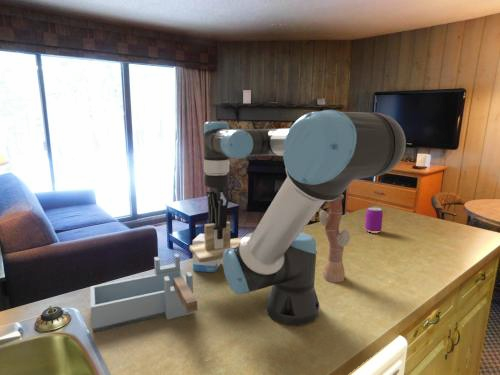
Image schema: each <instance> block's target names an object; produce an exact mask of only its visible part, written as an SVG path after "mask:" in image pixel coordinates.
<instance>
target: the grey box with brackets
mask: <svg viewBox="0 0 500 375" xmlns="http://www.w3.org/2000/svg"><path fill="white" fill-rule="evenodd" d="M180 258H181V256H180V255H179V253H174V254H173V263H172V264H166V265H160V264H161V261H160V258H159V256H154V257H153V261H154V274H150V275H145V276H140V277H134V278H128V279H124V280H123V279H122V280H118V281H113V282H107V283H102V284H97V285H92V286H90V313H91V314H90V315H91V325H92V333H96V332H100V331H105V330H106V331H107V330H109V329H113V328H117V327H121V326H126V325H130V324H134V323H138V322H143V321H147V320H151V319H155V318H160V317H163V316H165V318H166V320H167V321H168V320H172V319H176V318H180V317H184V316H189V315H193V314H194V312H195V311H192V312H188V313H187V311H186V310H185V308H184V306H183V304H182V302H181V300H180V298H179V296H178V294H177V292H176V290H175V288H174V283H173V278H177V277H183V278H184V280H185V282H186V283H187V285H188V287H189V288H190V290H191V292H192V293H193V294H194V285H193V284H194V278H193V274H192V272H191V271H188V272H185V274H184V272H183V271H182V269H181V262H180V260H181V259H180Z"/></svg>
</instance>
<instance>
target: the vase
mask: <svg viewBox="0 0 500 375" xmlns="http://www.w3.org/2000/svg"><path fill="white" fill-rule="evenodd" d="M342 199H345V196H344V194H341V195H340V197H338V198H337V199H336V200H333V201H327V202H328V212H327V211H326V210H324V209H321V210H320V211H319V215H318V216H319V222H320V224H322V225H323V226H324V227H325V228H324V230H325V236H326V238H327V241H328V243H329V244H328V245H329V246H328V247H329V249H328V250H329V252H328V256H327V257H328V259H327V260H326V263H325V265H324V267H323V271H322V273H323V274H322V275H323V279H324V280H325V281H327V282H331V283H341V282H344V280H345V276H346V275H345V267H344V264H343V253H344V249H345V248H344V247H345V246H347V245H348V244H350V241H351V234H350V231H349V229H347V228H346V229H343V230H342V231H340V228H339V227H340V223H341V220H342V215H343V201H342Z"/></svg>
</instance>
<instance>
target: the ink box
mask: <svg viewBox="0 0 500 375" xmlns="http://www.w3.org/2000/svg"><path fill="white" fill-rule="evenodd" d="M201 243H205V236H204V233H199V234H198V235H197V236H196V237H195V238H194V239H192V245H195V244H201ZM221 264H222V259H219V260H214V261H208V262H199V261H198V260H197V258H196V257H195V256H194V254H193V253H192V271H193V272H195V271H196V272H205V273H206V272H207V273H215V272H216V271H217V270H218V269H219V267H220V265H221Z"/></svg>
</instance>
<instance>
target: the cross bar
mask: <svg viewBox="0 0 500 375" xmlns="http://www.w3.org/2000/svg"><path fill="white" fill-rule="evenodd" d="M173 283H174V288H175V290H176V292H177V294H178V296H179V298H180V300H181V302H182V304H183V306H184V308H185V310H186V311H187V313H188V312H192V311H194V312H196V311H198V300H197V298H196V296H195V295H194V292H193V293H192V292H191V290H190V288H189V287H188V285H187V283H186V282H185V280H184V278H183V277H177V278H173Z"/></svg>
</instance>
